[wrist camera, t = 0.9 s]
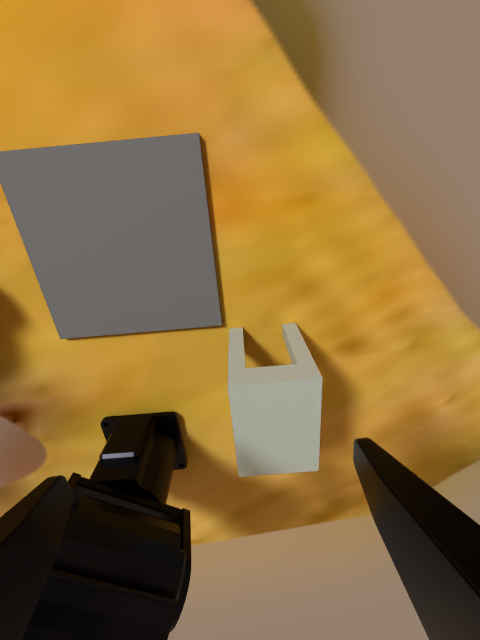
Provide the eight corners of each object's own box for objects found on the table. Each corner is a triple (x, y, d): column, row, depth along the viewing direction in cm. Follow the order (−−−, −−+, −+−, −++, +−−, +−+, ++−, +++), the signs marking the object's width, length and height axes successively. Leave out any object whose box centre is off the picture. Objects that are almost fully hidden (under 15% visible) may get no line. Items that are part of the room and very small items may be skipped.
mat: (222, 323, 21) (221, 325, 21) (63, 336, 21) (60, 339, 21) (199, 134, 16) (198, 132, 16) (-6, 153, 16) (-12, 152, 16)
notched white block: (295, 397, 24) (318, 470, 18) (237, 402, 24) (238, 477, 18) (295, 323, 21) (322, 377, 15) (229, 328, 21) (227, 385, 15)
